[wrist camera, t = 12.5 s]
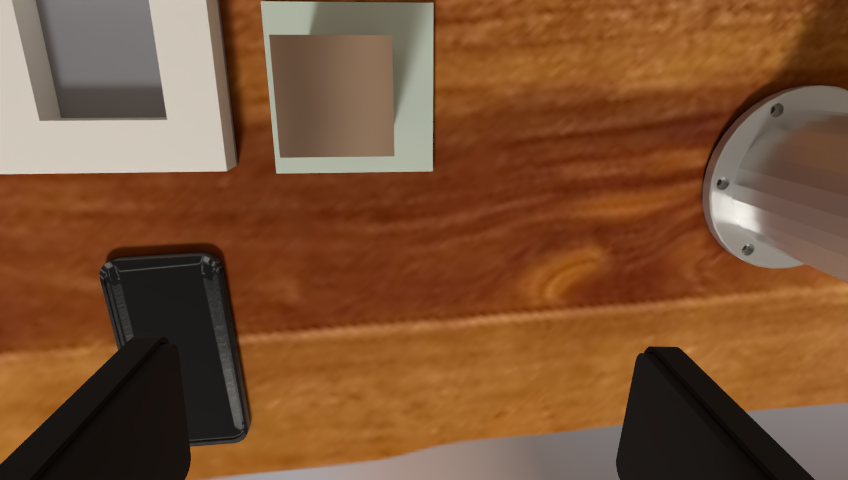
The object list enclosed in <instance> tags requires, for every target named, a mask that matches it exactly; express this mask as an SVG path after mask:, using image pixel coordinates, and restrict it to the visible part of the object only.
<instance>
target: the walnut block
mask: <svg viewBox="0 0 848 480" xmlns="http://www.w3.org/2000/svg"><path fill="white" fill-rule="evenodd" d="M269 40H270V52H271V63H272V74H273V85H274V96H275V108H276V119H277V130H278V141H279V152H280V158H302V157H385V156H394V105H393V53H392V35H269Z"/></svg>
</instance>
